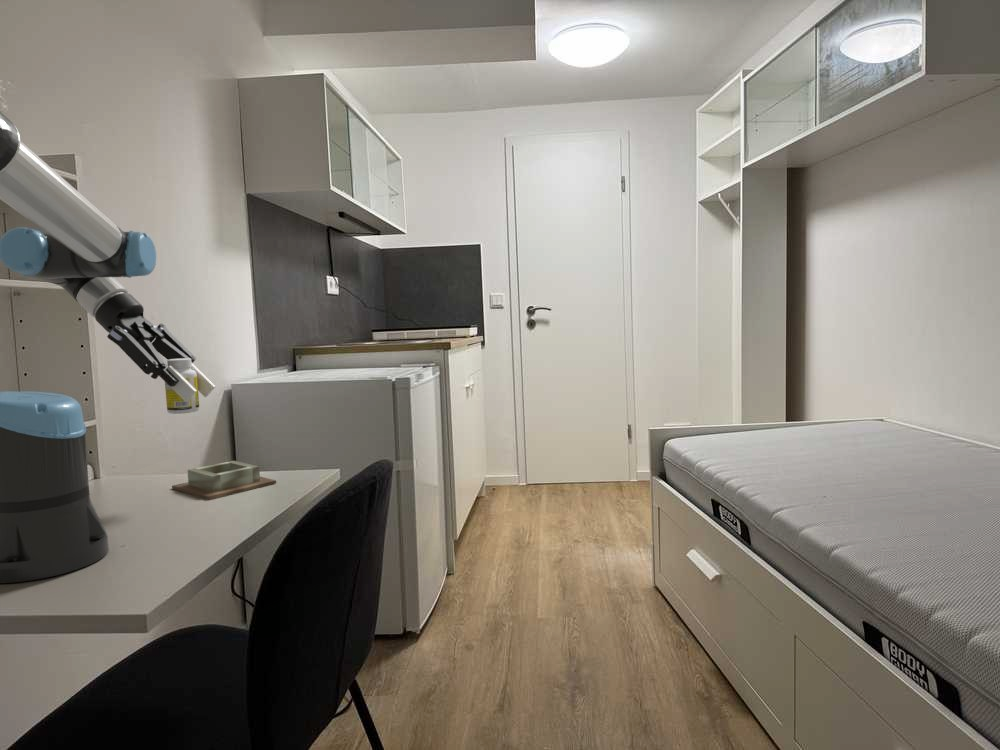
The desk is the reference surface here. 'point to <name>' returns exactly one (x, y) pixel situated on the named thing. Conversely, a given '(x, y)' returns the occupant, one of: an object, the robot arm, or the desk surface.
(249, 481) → the socket board
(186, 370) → the supplement bottle
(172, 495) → the desk surface
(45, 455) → the robot arm
